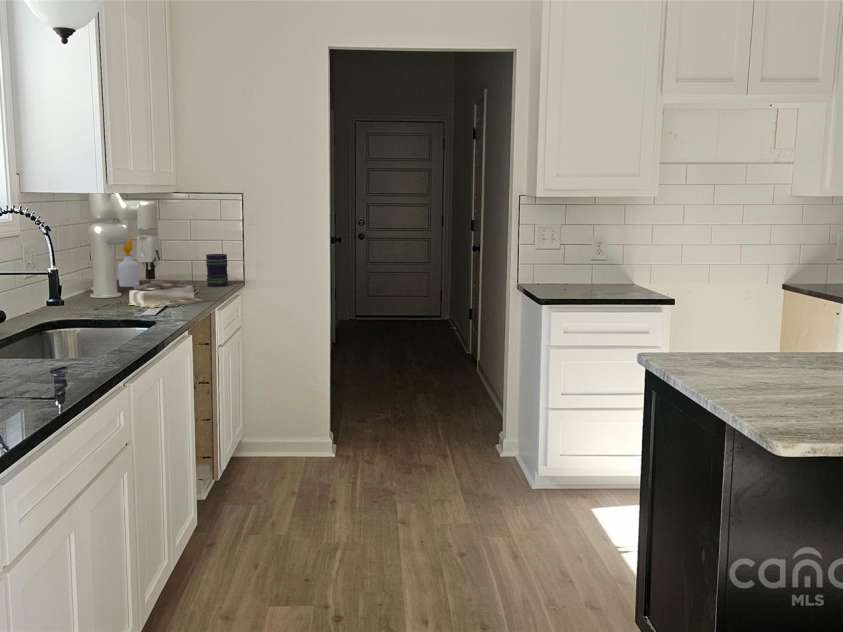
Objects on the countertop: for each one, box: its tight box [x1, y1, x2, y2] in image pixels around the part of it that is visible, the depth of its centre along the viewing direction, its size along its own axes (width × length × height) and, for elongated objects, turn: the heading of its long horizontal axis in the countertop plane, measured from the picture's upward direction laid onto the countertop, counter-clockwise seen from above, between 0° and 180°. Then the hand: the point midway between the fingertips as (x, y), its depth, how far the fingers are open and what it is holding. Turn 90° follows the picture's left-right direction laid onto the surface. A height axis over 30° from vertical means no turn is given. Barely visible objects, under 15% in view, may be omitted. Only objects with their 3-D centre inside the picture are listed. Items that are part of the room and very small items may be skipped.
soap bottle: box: [117, 235, 140, 288], centre depth 407 cm, size 9×9×25 cm
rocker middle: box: [149, 279, 174, 289], centre depth 348 cm, size 9×4×1 cm, turn 52°
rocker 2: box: [167, 279, 190, 286], centre depth 355 cm, size 9×4×1 cm, turn 52°
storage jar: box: [205, 253, 229, 288], centre depth 408 cm, size 10×10×15 cm
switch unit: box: [128, 284, 204, 309], centre depth 348 cm, size 15×25×6 cm, turn 142°
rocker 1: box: [132, 283, 157, 290], centre depth 342 cm, size 9×4×1 cm, turn 52°
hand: (150, 279), depth 339 cm, fingers closed
